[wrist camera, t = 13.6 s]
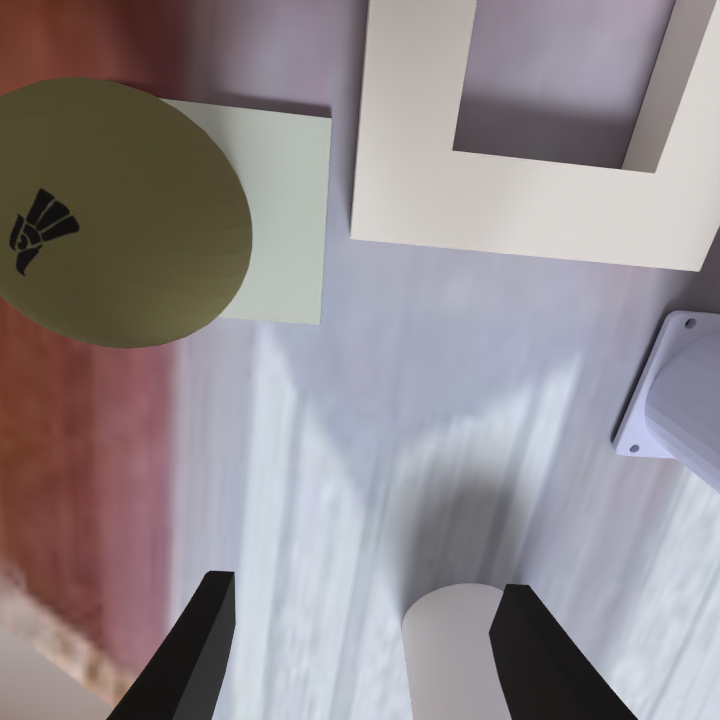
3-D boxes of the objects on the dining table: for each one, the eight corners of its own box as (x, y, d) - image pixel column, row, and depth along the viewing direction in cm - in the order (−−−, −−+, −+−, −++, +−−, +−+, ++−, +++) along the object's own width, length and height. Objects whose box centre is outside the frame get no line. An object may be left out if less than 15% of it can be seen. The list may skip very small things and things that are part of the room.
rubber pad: (332, 120, 15) (332, 118, 14) (320, 321, 18) (320, 324, 18) (111, 94, 14) (105, 92, 14) (139, 308, 17) (134, 310, 17)
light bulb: (163, 99, 14) (-172, -66, 5) (309, 172, 15) (258, 149, 6) (129, 246, 16) (-156, 324, 7) (261, 301, 17) (167, 432, 8)
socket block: (845, -201, 12) (935, -270, 10) (662, 262, 18) (699, 271, 16) (391, -291, 11) (402, -387, 9) (349, 233, 17) (350, 238, 15)
